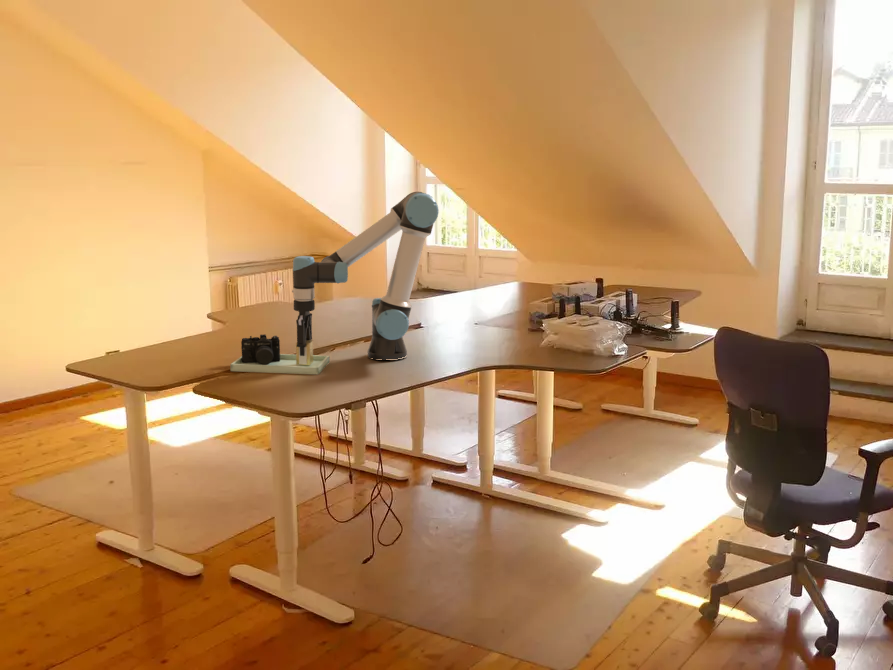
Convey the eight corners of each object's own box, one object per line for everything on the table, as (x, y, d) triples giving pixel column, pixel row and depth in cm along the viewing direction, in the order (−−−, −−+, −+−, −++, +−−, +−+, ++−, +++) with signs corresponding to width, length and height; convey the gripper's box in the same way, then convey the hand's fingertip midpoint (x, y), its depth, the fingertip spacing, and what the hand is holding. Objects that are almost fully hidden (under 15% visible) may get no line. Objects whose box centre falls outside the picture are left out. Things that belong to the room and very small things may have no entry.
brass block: (299, 361, 325) (299, 339, 323) (313, 361, 324) (313, 340, 323) (296, 364, 320) (296, 342, 318) (309, 364, 320) (309, 343, 318)
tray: (246, 359, 334) (246, 352, 333) (329, 362, 331) (329, 355, 330) (230, 371, 316) (230, 364, 315) (318, 374, 313) (318, 367, 313)
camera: (241, 367, 318) (240, 340, 316) (241, 360, 328) (241, 334, 326) (280, 366, 321) (280, 339, 319) (279, 359, 331) (279, 333, 329)
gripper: (300, 294, 326) (301, 356, 331) (287, 303, 309) (288, 367, 314) (320, 295, 326) (320, 356, 331) (308, 304, 308) (309, 368, 313)
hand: (305, 362), depth 322 cm, fingers closed on brass block, 5 cm apart
